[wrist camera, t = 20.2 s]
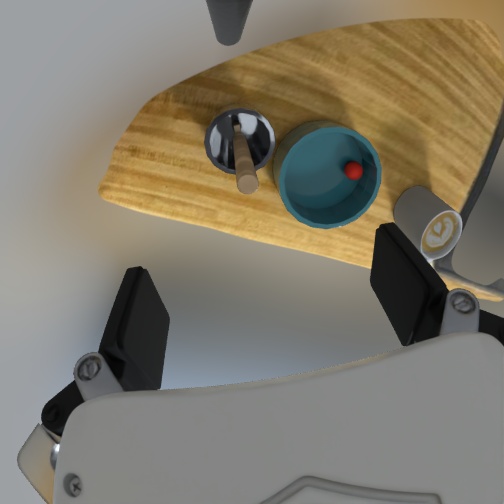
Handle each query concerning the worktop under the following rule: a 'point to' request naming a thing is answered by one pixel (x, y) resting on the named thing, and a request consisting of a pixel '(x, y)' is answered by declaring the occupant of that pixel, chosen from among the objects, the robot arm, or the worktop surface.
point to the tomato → (353, 170)
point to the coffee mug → (427, 222)
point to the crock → (251, 126)
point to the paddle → (243, 163)
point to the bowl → (325, 174)
